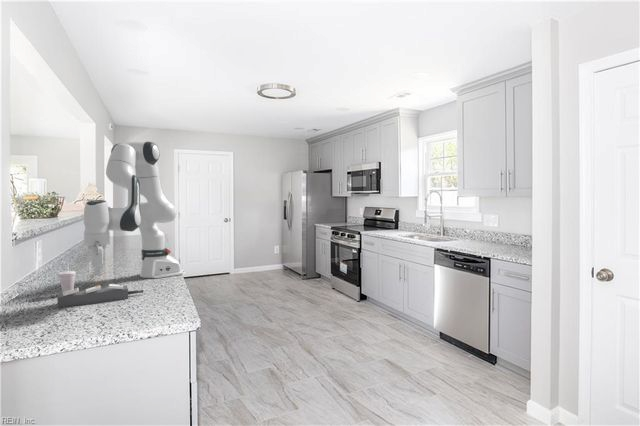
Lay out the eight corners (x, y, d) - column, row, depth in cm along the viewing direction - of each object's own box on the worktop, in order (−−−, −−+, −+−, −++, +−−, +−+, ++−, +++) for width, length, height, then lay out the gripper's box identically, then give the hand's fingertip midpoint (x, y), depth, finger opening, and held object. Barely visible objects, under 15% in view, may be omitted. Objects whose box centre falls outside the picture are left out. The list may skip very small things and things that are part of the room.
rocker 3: (122, 287, 155) (122, 284, 155) (122, 289, 152) (123, 286, 152) (108, 286, 152) (109, 283, 152) (108, 288, 149) (109, 285, 149)
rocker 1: (78, 289, 147) (78, 287, 147) (78, 291, 144) (77, 289, 144) (64, 294, 144) (63, 291, 144) (63, 296, 142) (62, 293, 141)
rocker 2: (100, 287, 151) (99, 284, 150) (100, 289, 148) (99, 286, 148) (86, 291, 148) (85, 288, 148) (86, 293, 145) (85, 290, 145)
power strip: (142, 292, 162) (142, 283, 162) (144, 296, 156) (143, 286, 156) (59, 303, 146) (59, 292, 146) (57, 307, 140) (57, 297, 140)
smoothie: (67, 296, 155) (66, 264, 154) (55, 296, 157) (53, 263, 156) (80, 292, 162) (79, 261, 161) (68, 292, 163) (66, 260, 162)
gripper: (106, 242, 140) (107, 278, 141) (105, 237, 158) (106, 269, 159) (87, 243, 137) (87, 280, 138) (88, 238, 155) (89, 270, 155)
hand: (97, 274), depth 148 cm, fingers closed
